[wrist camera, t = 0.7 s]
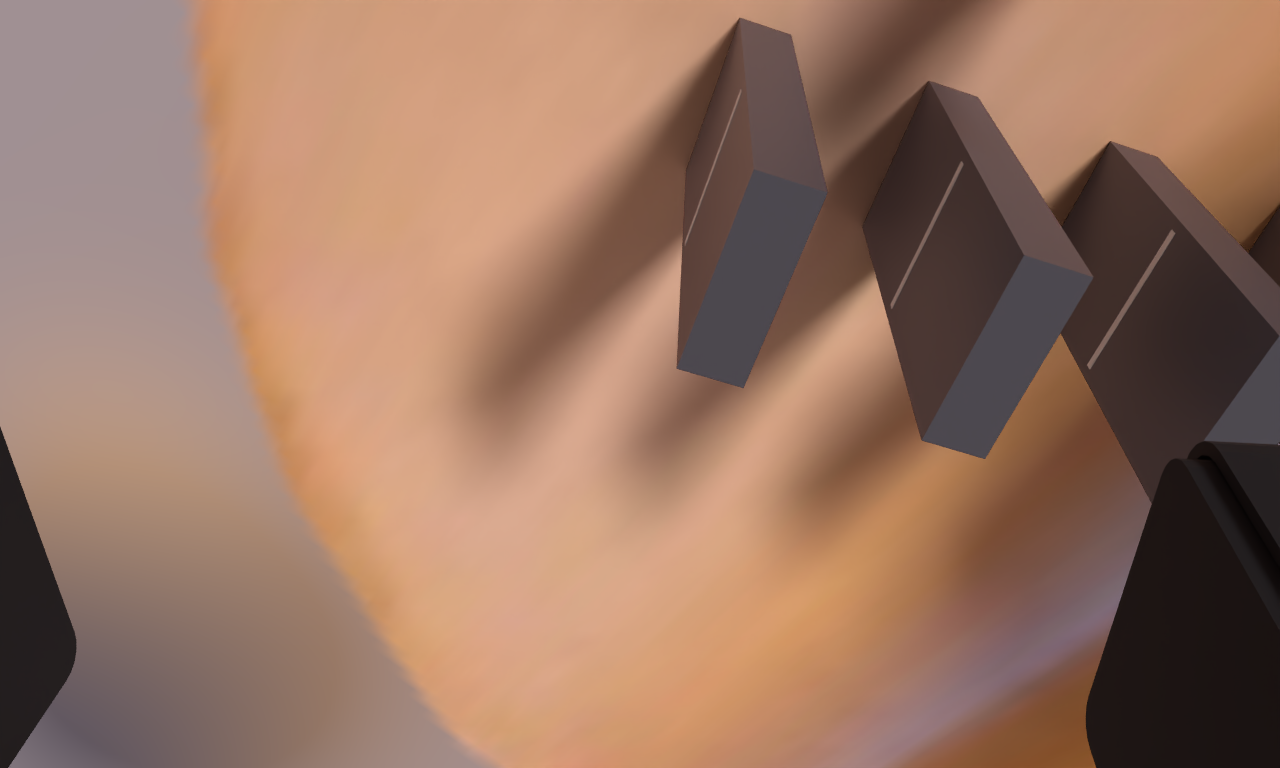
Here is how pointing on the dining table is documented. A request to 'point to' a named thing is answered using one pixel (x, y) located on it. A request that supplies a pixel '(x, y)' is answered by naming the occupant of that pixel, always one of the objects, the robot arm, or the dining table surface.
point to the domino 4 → (1269, 249)
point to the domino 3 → (1170, 317)
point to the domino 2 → (968, 271)
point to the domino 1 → (746, 205)
